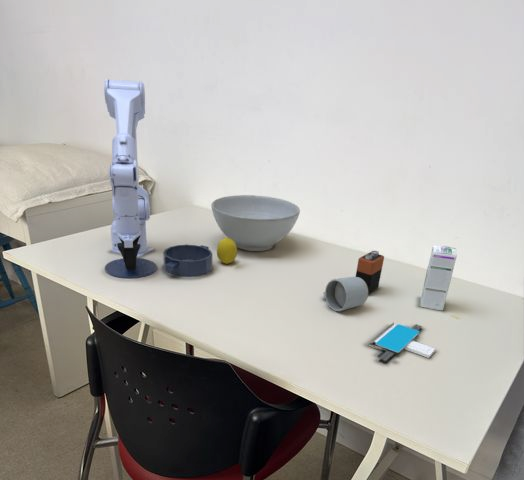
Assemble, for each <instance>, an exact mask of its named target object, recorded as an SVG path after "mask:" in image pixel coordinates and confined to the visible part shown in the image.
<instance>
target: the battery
mask: <svg viewBox="0 0 524 480" xmlns="http://www.w3.org/2000/svg"><path fill="white" fill-rule="evenodd" d="M379 252H380V251H378V250H371V251H369V252H367V253H365V254H364V255H362V256H360V257H358V260H357V266H356V272H355V277H359V278H361V279H363V280H364V281H365V282H366V284H367V286H368V295H369V294H371V293H372V292H374V291H375V290H377V289H379V285H380V281H381V275H382V270H383V267H384V261H385V255H382V254H380V253H379Z"/></svg>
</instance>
